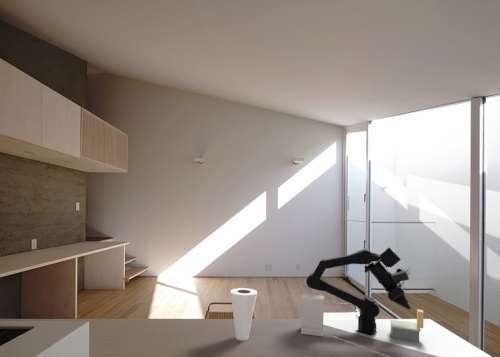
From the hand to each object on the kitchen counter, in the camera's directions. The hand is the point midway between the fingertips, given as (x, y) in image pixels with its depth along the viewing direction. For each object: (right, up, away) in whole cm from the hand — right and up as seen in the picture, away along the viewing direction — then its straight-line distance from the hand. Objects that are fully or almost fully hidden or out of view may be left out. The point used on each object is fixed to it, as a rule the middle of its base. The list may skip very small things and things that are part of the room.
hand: (408, 305), depth 145 cm
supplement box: (-39, -12, +3) cm, 41 cm away
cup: (-69, -10, -7) cm, 70 cm away
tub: (-2, -13, 0) cm, 13 cm away
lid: (-1, -9, 0) cm, 9 cm away
